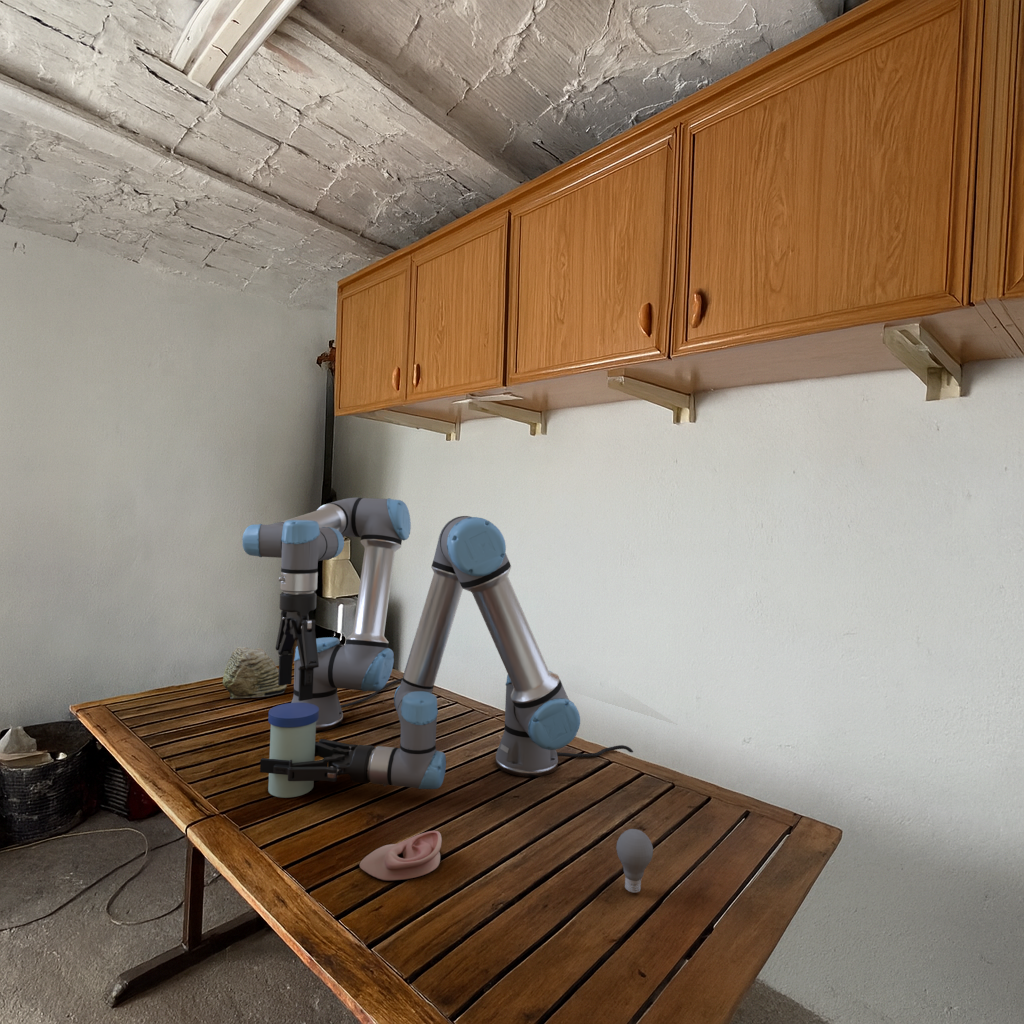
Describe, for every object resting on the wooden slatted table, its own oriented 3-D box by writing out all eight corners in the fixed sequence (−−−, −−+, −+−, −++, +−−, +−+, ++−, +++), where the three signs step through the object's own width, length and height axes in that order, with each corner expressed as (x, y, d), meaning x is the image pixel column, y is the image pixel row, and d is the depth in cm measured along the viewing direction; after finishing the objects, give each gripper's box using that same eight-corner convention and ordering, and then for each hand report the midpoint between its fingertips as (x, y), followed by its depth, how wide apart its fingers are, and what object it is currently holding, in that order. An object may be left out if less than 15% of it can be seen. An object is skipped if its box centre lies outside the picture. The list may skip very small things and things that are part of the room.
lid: (275, 710, 142) (276, 702, 142) (322, 711, 143) (323, 702, 143) (262, 727, 131) (262, 718, 131) (313, 727, 132) (313, 718, 132)
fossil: (218, 695, 195) (220, 647, 195) (278, 685, 208) (279, 640, 207) (228, 703, 189) (230, 653, 188) (289, 692, 201) (290, 645, 201)
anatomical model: (352, 851, 106) (379, 818, 118) (351, 875, 106) (379, 839, 118) (427, 864, 104) (448, 829, 115) (426, 888, 104) (447, 850, 115)
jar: (275, 778, 142) (277, 704, 141) (317, 778, 142) (320, 705, 142) (262, 797, 132) (265, 719, 132) (308, 797, 133) (311, 719, 133)
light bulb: (610, 879, 108) (613, 822, 108) (644, 879, 109) (647, 822, 109) (619, 902, 102) (622, 840, 102) (655, 901, 103) (658, 840, 103)
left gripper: (262, 585, 143) (259, 680, 144) (301, 601, 125) (297, 710, 125) (295, 583, 148) (292, 675, 149) (338, 598, 130) (333, 704, 130)
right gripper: (353, 806, 124) (245, 796, 127) (387, 761, 146) (294, 752, 149) (355, 768, 124) (246, 758, 127) (388, 729, 146) (295, 721, 149)
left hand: (294, 691), depth 137 cm, fingers open, 12 cm apart
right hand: (272, 755), depth 138 cm, fingers closed on jar, 9 cm apart
